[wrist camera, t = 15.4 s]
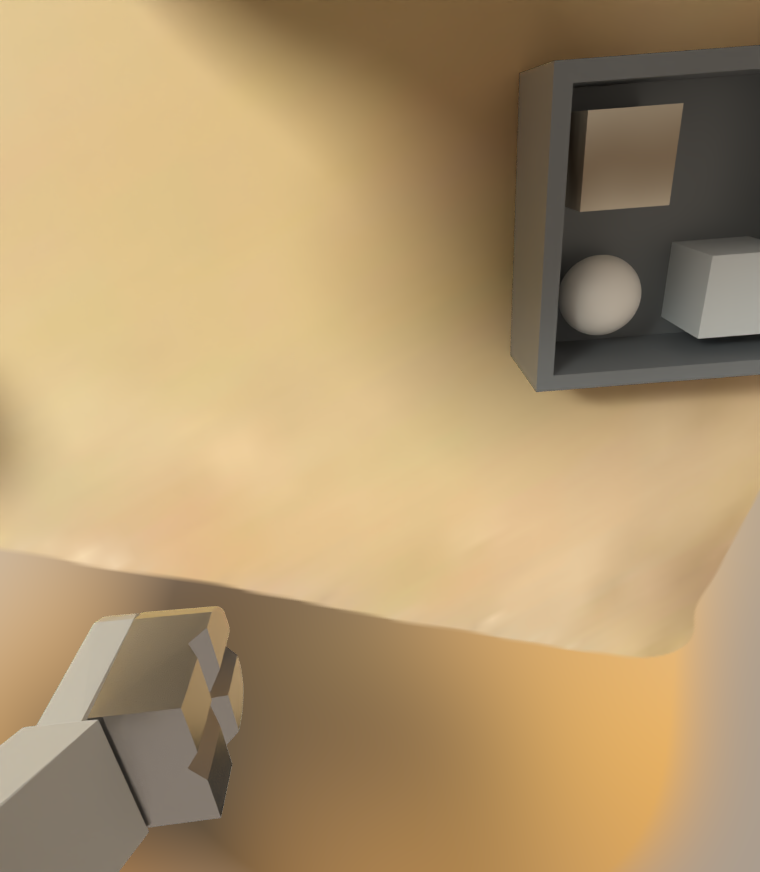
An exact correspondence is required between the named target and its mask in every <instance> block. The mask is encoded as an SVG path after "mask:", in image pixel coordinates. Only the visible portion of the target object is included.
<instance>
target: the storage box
mask: <svg viewBox="0 0 760 872" xmlns="http://www.w3.org/2000/svg"><path fill="white" fill-rule="evenodd" d="M678 103H684V104H683V111H682V118H681V125H680V132H679V139H678V146H677V153H676V161H675V168H674V175H673V182H672V189H671V196H670V203H669V205H664V206H651V207H638V208H625V209H612V210H599V211H586V212H579V211H576V210H573V209H570V208H568V207H565V196H566V181H567V166H568V152H569V137H570V122H571V112H576V111H586V110H599V109H612V108H625V107H638V106H652V105H665V104H678ZM743 236H749V237H753V238H757V239H760V45H754V46H741V47H727V48H714V49H701V50H688V51H675V52H661V53H648V54H635V55H622V56H609V57H596V58H582V59H569V60H556V61H552V62H549V63H546V64H544V65H541V66H538V67H535V68H532V69H530V70H527V71H524V72H521V73H520V76H519V106H518V137H517V168H516V199H515V229H514V260H513V291H512V322H511V352H510V355H511V357H512V358H513V360H514V361H515V362H516V364H517V365H518V367H519V368H520V370H521V371H522V372H523V374H524V375H525V377H526V378H527V380H528V381H529V382H530V384H531V385H532V387H533V388H534V390H535V391H536V392H542V391H555V390H568V389H581V388H594V387H607V386H620V385H632V384H645V383H658V382H671V381H684V380H697V379H709V378H722V377H735V376H748V375H760V334H752V335H739V336H726V337H713V338H700V339H698V338H696V337H694V336H693V335H691V334H689V333H688V332H686V331H684V330H683V329H681V328H679V327H678V326H676V325H674V324H673V323H671V322H669V321H668V320H666V319H664V318H663V317H661V313H662V307H663V300H664V293H665V286H666V280H667V273H668V266H669V259H670V253H671V246H672V242H678V241H691V240H704V239H717V238H730V237H743ZM594 255H611V256H615V257H618V258H620V259H622V260H624V261H625V262H627V263H628V264H629V265H630V266H632V268H633V269H634V270H635V272H636V273H637V275H638V277H639V280H640V284H641V291H642V292H641V300H640V304H639V307H638V309H637V311H636V313H635V315H634V316H633V317H632V319H631V320H630V321H629V322H628V323H627V324H626V325H624V326H623V327H622V328H620V329H618V330H616V331H614V332H612V333H609V334H605V335H588V334H585V333H582V332H579V331H577V330H576V329H574V328H572V327H571V326H570V325H569V324H568V323H567V322H566V321H565V319H564V318H563V316H562V314H561V312H560V309H559V305H558V299H559V287H560V284H561V282H562V280H563V278H564V276H565V275H566V273H567V272H568V271H569V269H570V268H571V267H573V266H574V265H575V264H576V263H578V262H579V261H581V260H583V259H585V258H587V257H590V256H594Z"/></svg>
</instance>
